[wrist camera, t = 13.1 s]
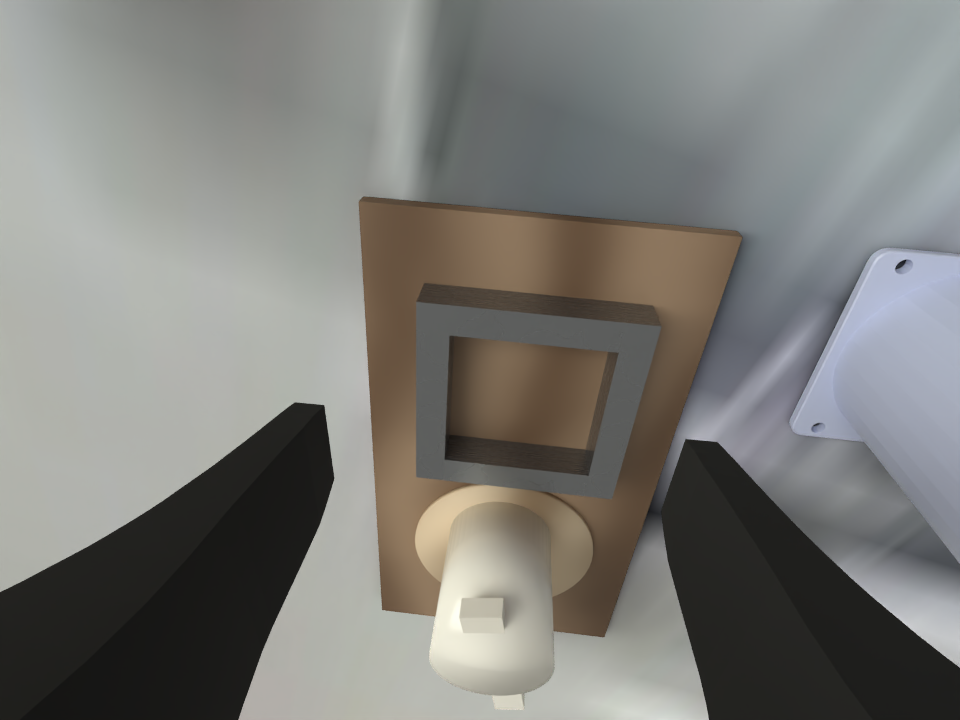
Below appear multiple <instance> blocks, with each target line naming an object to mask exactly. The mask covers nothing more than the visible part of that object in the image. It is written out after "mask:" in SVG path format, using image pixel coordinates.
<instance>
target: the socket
mask: <svg viewBox="0 0 960 720" xmlns="http://www.w3.org/2000/svg"><path fill="white" fill-rule="evenodd" d="M661 327H662V326H661V324H660V321H659V319H658V316H657V314H656V312H655V309H654V307H653V305H645V304H635V303H625V302H615V301H605V300H594V299H584V298H574V297H564V296H554V295H544V294H533V293H523V292H513V291H503V290H493V289H483V288H472V287H462V286H452V285H442V284H432V283H424V285H423V287H422V289H421V292H420V294H419V296H418V299H417V301H416V477H418V478H427V479H436V480H445V481H454V482H463V483H471V484H480V485H489V486H498V487H507V488H516V489H525V490H533V491H542V492H551V493H560V494H569V495H578V496H587V497H596V498H604V499H612V498H613V494H614V491H615V487H616V484H617V480H618V477H619V473H620V470H621V466H622V463H623V459H624V456H625V452H626V449H627V445H628V442H629V438H630V435H631V431H632V428H633V424H634V421H635V417H636V414H637V411H638V407H639V404H640V400H641V397H642V393H643V390H644V386H645V383H646V379H647V376H648V372H649V369H650V365H651V362H652V358H653V355H654V351H655V348H656V344H657V341H658V337H659V334H660V330H661ZM454 336H459V337H469V338H479V339H488V340H498V341H508V342H518V343H528V344H537V345H547V346H557V347H567V348H577V349H586V350H596V351H606V352H608V355H607V359H606V364H605V368H604V372H603V377H602V381H601V385H600V389H599V394H598V398H597V402H596V407H595V411H594V415H593V420H592V424H591V428H590V433H589V437H588V441H587V446H586V450H585V449H576V448H567V447H558V446H548V445H539V444H530V443H521V442H512V441H503V440H494V439H484V438H475V437H466V436H457V435H450V417H451V396H452V374H453V352H454Z"/></svg>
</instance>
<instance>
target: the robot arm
mask: <svg viewBox="0 0 960 720" xmlns="http://www.w3.org/2000/svg"><path fill="white" fill-rule="evenodd" d="M902 260H906V263H905V264H904V265H903V267H901V268H899V269H895V268H896V265H897V264H898V263H899V262H901V261H902ZM816 423H820V424H819V425H817V426H813V425H814V424H816ZM789 425H790V427H791V429H792V431H793V432H794V433H796V434H798V435H804V436H814V437H823V438H832V439H842V440H851V441H860V442H865V443H866V444H867V446H868V447H869V448H870V450H871V451H872V452H873V453H874V455H875V456H876V457H877V459H878V460H879V461H880V462H881V464H882V465H883V466H884V467H885V469H886V470H887V471H888V473H889V474H890V475H891V476H892V478H893V479H894V480H895V482H896V483H897V484H898V485H899V487H900V488H901V489H902V490H903V492H904V493H905V494H906V496H907V497H908V498H909V499H910V501H911V502H912V503H913V505H914V506H915V507H916V508H917V510H918V511H919V512H920V513H921V515H922V516H923V517H924V519H925V520H926V521H927V522H928V524H929V525H930V526H931V528H932V529H933V530H934V531H935V533H936V534H937V535H938V536H939V538H940V539H941V540H942V542H943V543H944V544H945V545H946V547H947V548H948V549H949V551H950V552H951V553H952V554H953V556H954V557H955V558H956V559H957V561H958V562H959V563H960V254H955V253H944V252H933V251H922V250H911V249H901V248H883V249H880V250H878V251H876V252H875V253H874V254H872V255H871V257H870V258H869V259H868V261H867V263H866V265H865V267H864V269H863V271H862V273H861V276H860V278H859V280H858V282H857V284H856V286H855V288H854V290H853V292H852V294H851V296H850V298H849V300H848V302H847V304H846V306H845V308H844V310H843V312H842V314H841V316H840V318H839V320H838V322H837V324H836V327H835V329H834V331H833V333H832V335H831V337H830V339H829V341H828V343H827V345H826V347H825V349H824V351H823V353H822V355H821V357H820V359H819V361H818V363H817V365H816V367H815V369H814V371H813V373H812V375H811V378H810V380H809V382H808V384H807V386H806V388H805V390H804V392H803V394H802V396H801V398H800V400H799V402H798V404H797V406H796V408H795V410H794V412H793V414H792V416H791V418H790V421H789ZM812 426H813V427H812ZM333 481H334V473H333V466H332V458H331V451H330V444H329V436H328V429H327V422H326V415H325V407H324V405H316V404H306V403H294V404H292V405H291V406H289V407H288V408H287V409H285V410H284V411H283V412H282V413H280V414H279V415H278V416H277V417H275V418H274V419H273V420H271V421H270V422H269V423H268V424H266V425H265V426H264V427H263V428H261V429H260V430H259V431H258V432H256V433H255V434H254V435H252V436H251V437H250V438H249V439H247V440H246V441H245V442H244V443H242V444H241V445H240V446H238V447H237V448H236V449H234V450H233V451H232V452H230V453H229V454H228V455H227V456H225V457H224V458H223V459H221V460H220V461H219V462H217V463H216V464H215V465H213V466H212V467H211V468H209V469H208V470H206V471H205V472H204V473H202V474H201V475H199V476H198V477H196V478H195V479H194V480H192V481H191V482H189V483H188V484H186V485H185V486H184V487H182V488H181V489H179V490H178V491H176V492H175V493H174V494H172V495H171V496H169V497H168V498H166V499H165V500H164V501H162V502H161V503H159V504H158V505H156V506H155V507H153V508H151V509H150V510H148V511H147V512H145V513H144V514H142V515H140V516H139V517H137V518H136V519H134V520H132V521H131V522H129V523H127V524H126V525H124V526H122V527H121V528H119V529H117V530H116V531H114V532H112V533H111V534H109V535H107V536H106V537H104V538H102V539H101V540H99V541H97V542H95V543H94V544H92V545H90V546H88V547H87V548H85V549H83V550H81V551H79V552H77V553H75V554H73V555H71V556H70V557H68V558H66V559H64V560H62V561H60V562H58V563H56V564H54V565H52V566H51V567H49V568H47V569H45V570H43V571H41V572H39V573H37V574H35V575H34V576H32V577H30V578H28V579H26V580H24V581H22V582H20V583H18V584H16V585H14V586H12V587H10V588H8V589H6V590H4V591H2V592H0V720H238V719H239V716H240V713H241V710H242V707H243V704H244V701H245V698H246V695H247V693H248V690H249V687H250V684H251V681H252V679H253V676H254V673H255V670H256V667H257V665H258V662H259V659H260V656H261V653H262V651H263V648H264V646H265V643H266V641H267V639H268V636H269V634H270V632H271V629H272V627H273V625H274V622H275V620H276V618H277V616H278V614H279V612H280V610H281V607H282V605H283V603H284V601H285V599H286V597H287V595H288V592H289V590H290V588H291V586H292V584H293V582H294V579H295V577H296V575H297V573H298V571H299V569H300V567H301V564H302V562H303V560H304V558H305V556H306V554H307V551H308V549H309V547H310V545H311V543H312V540H313V538H314V536H315V534H316V532H317V529H318V527H319V525H320V522H321V519H322V516H323V513H324V510H325V507H326V504H327V501H328V498H329V494H330V491H331V488H332V484H333ZM661 515H662V523H663V531H664V538H665V545H666V551H667V557H668V562H669V566H670V570H671V574H672V578H673V581H674V585H675V589H676V592H677V596H678V600H679V603H680V607H681V610H682V614H683V618H684V621H685V625H686V628H687V632H688V636H689V639H690V643H691V646H692V650H693V654H694V657H695V661H696V664H697V668H698V671H699V675H700V679H701V683H702V688H703V692H704V696H705V700H706V705H707V710H708V716H709V720H960V668H959V667H958V666H957V665H955V664H954V663H953V662H951V661H950V660H949V659H947V658H946V657H945V656H943V655H942V654H941V653H940V652H938V651H937V650H936V649H935V648H933V647H932V646H931V645H929V644H928V643H927V642H926V641H924V640H923V639H922V638H921V637H919V636H918V635H917V634H916V633H914V632H913V631H912V630H911V629H910V628H908V627H907V626H906V625H905V624H904V623H902V622H901V621H900V620H899V619H898V618H896V617H895V616H894V615H893V614H892V613H890V612H889V611H888V610H887V609H886V608H885V607H883V606H882V605H881V604H880V603H879V602H877V601H876V600H875V599H874V598H873V597H872V596H870V595H869V594H868V593H867V592H866V591H865V590H864V589H862V588H861V587H860V586H859V585H858V584H857V583H856V582H855V581H853V580H852V579H851V578H850V577H849V576H848V575H847V574H846V573H845V572H844V571H843V570H842V569H841V568H840V567H838V566H837V565H836V564H835V563H834V562H833V561H832V560H831V559H830V558H829V557H828V556H827V555H826V554H825V553H824V552H822V551H821V550H820V549H819V548H818V547H817V546H816V545H815V544H814V543H813V542H812V541H811V540H810V539H809V538H808V537H807V536H806V535H805V534H804V533H803V532H802V531H801V530H800V529H799V528H798V527H797V526H796V525H795V524H794V523H793V522H792V521H791V520H790V519H789V518H788V517H787V516H786V515H785V513H784V512H783V511H782V510H781V509H780V508H779V507H778V506H777V505H776V504H775V503H774V502H773V501H772V500H771V499H770V498H769V497H768V496H767V495H766V494H765V492H764V491H763V490H762V489H761V488H760V487H759V486H758V485H757V484H756V483H755V482H754V481H753V480H752V478H751V477H750V476H749V475H748V474H747V473H746V472H745V471H744V470H743V469H742V468H741V467H740V465H739V464H738V463H737V462H736V461H735V460H734V459H733V458H732V457H731V456H730V455H729V454H728V453H727V452H726V451H725V449H724V448H723V447H722V446H721V445H720V444H719V443H718V442H710V441H699V440H689V439H685V442H684V445H683V448H682V451H681V454H680V457H679V460H678V463H677V466H676V469H675V472H674V475H673V478H672V481H671V483H670V486H669V489H668V492H667V495H666V498H665V501H664V504H663V507H662V510H661Z"/></svg>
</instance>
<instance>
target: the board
mask: <svg viewBox="0 0 960 720" xmlns="http://www.w3.org/2000/svg"><path fill="white" fill-rule="evenodd" d="M359 214H360V232H361V249H362V266H363V284H364V301H365V319H366V336H367V353H368V371H369V388H370V406H371V423H372V440H373V458H374V475H375V493H376V510H377V527H378V545H379V562H380V580H381V597H382V610H386V611H395V612H403V613H411V614H419V615H427V616H435V617H436V611H437V605H438V599H439V593H440V587H441V582H439V581H438V580H437V579H436V578H434V577H433V576H432V575H431V574H430V573H429V572H428V571H427V569H426V568H425V567H424V565H423V564H422V562H421V560H420V558H419V556H418V554H417V550H416V546H415V534H416V529H417V525H418V522H419V519H420V518H421V516H422V514H423V512H424V511H425V510H426V509H427V507H428V506H429V505H430V504H431V503H433V502H434V501H435V500H436V499H438V498H439V497H441V496H442V495H444V494H446V493H448V492H450V491H452V490H454V489H457V488H460V487H463V486H467V485H471V483H463V482H454V481H445V480H436V479H427V478H418V477H416V301H417V299H418V296H419V294H420V292H421V289H422V287H423V285H424V283H432V284H442V285H452V286H462V287H472V288H483V289H493V290H503V291H513V292H523V293H533V294H544V295H554V296H564V297H574V298H584V299H594V300H605V301H615V302H625V303H635V304H645V305H653V307H654V309H655V312H656V314H657V316H658V319H659V321H660V324H661V326H662V327H661V330H660V334H659V337H658V341H657V344H656V348H655V351H654V355H653V358H652V362H651V365H650V369H649V372H648V376H647V379H646V383H645V386H644V390H643V393H642V397H641V400H640V404H639V407H638V411H637V414H636V417H635V421H634V424H633V428H632V431H631V435H630V438H629V442H628V445H627V449H626V452H625V456H624V459H623V463H622V466H621V470H620V473H619V477H618V480H617V484H616V487H615V491H614V494H613V498H612V499H604V498H596V497H587V496H578V495H569V494H560V493H551V492H549V493H551V494H553V495H555V496H557V497H559V498H560V499H562V500H563V501H565V502H566V503H568V504H569V505H570V506H571V507H573V508H574V509H575V510H576V511H577V512H578V513H579V514H580V515H581V516H582V518H583V519H584V521H585V522H586V524H587V526H588V528H589V530H590V532H591V537H592V542H593V557H592V562H591V564H590V567H589V569H588V570H587V572H586V574H585V575H584V576H583V577H582V578H581V580H580V581H579V582H577V583H576V584H575V585H574V586H573V587H571V588H570V589H568V590H566V591H565V592H563V593H561V594H559V595H557V596H554V597H552V602H553V631H557V632H565V633H574V634H582V635H590V636H598V637H605V634H606V631H607V628H608V625H609V622H610V619H611V616H612V613H613V610H614V608H615V605H616V602H617V599H618V596H619V593H620V590H621V587H622V584H623V582H624V579H625V576H626V573H627V570H628V567H629V564H630V561H631V558H632V556H633V553H634V550H635V547H636V544H637V541H638V538H639V535H640V532H641V529H642V527H643V524H644V521H645V518H646V515H647V512H648V509H649V506H650V503H651V501H652V498H653V495H654V492H655V489H656V486H657V483H658V480H659V477H660V475H661V472H662V469H663V466H664V463H665V460H666V457H667V454H668V451H669V448H670V446H671V443H672V440H673V437H674V434H675V431H676V428H677V425H678V422H679V420H680V417H681V414H682V411H683V408H684V405H685V402H686V399H687V396H688V394H689V391H690V388H691V385H692V382H693V379H694V376H695V373H696V370H697V367H698V365H699V362H700V359H701V356H702V353H703V350H704V347H705V344H706V341H707V339H708V336H709V333H710V330H711V327H712V324H713V321H714V318H715V315H716V313H717V310H718V307H719V304H720V301H721V298H722V295H723V292H724V289H725V286H726V284H727V281H728V278H729V275H730V272H731V269H732V266H733V263H734V260H735V258H736V255H737V252H738V249H739V246H740V243H741V240H742V236H741V235H740V234H739V233H738V232H737V231H730V230H720V229H709V228H698V227H687V226H676V225H666V224H655V223H644V222H633V221H622V220H612V219H601V218H590V217H579V216H568V215H558V214H547V213H536V212H525V211H514V210H504V209H493V208H482V207H471V206H460V205H449V204H439V203H428V202H417V201H406V200H395V199H385V198H374V197H363V198H362V199H361V200H360V201H359ZM607 355H608V352H606V351H596V350H586V349H577V348H567V347H557V346H547V345H537V344H528V343H518V342H508V341H498V340H488V339H479V338H469V337H459V336H454V352H453V374H452V396H451V417H450V435H457V436H466V437H475V438H484V439H494V440H503V441H512V442H521V443H530V444H539V445H548V446H558V447H567V448H576V449H585V450H586V446H587V441H588V437H589V433H590V428H591V424H592V420H593V415H594V411H595V407H596V402H597V398H598V394H599V389H600V385H601V381H602V377H603V372H604V368H605V364H606V359H607Z"/></svg>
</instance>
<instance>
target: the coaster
mask: <svg viewBox="0 0 960 720" xmlns="http://www.w3.org/2000/svg"><path fill="white" fill-rule="evenodd" d="M485 502H508V503H513V504H517V505H520V506H523V507H525V508H527V509H529V510H531V511H533V512H534V513H536V514H537V515H538V516H539V517H541V518H542V519H543V521H544V522H545V523H546V525H547V526H548V528H549V531H550V535H551V567H552V597H554V596H557V595H559V594H561V593H563V592H565V591H566V590H568V589H570V588H571V587H573V586H574V585H575V584H576V583H577V582H579V581H580V580H581V578H582V577H583V576H584V575H585V574H586V572H587V570H588V569H589V567H590V564H591V562H592V557H593V542H592V537H591V532H590V530H589V528H588V526H587V524H586V522H585V521H584V519H583V518H582V516H581V515H580V514H579V513H578V512H577V511H576V510H575V509H574V508H573V507H571V506H570V505H569V504H568V503H566V502H565V501H563V500H562V499H560V498H559V497H557V496H555V495H553V494H551V493H549V492H542V491H533V490H525V489H516V488H507V487H498V486H489V485H480V484H471V485H467V486H463V487H460V488H457V489H454V490H452V491H450V492H448V493H446V494H444V495H442V496H441V497H439V498H438V499H436V500H435V501H434V502H433V503H431V504H430V505H429V506H428V507H427V509H426V510H425V511H424V512H423V514H422V516H421V518H420V519H419V522H418V525H417V529H416V534H415V546H416V550H417V554H418V556H419V558H420V560H421V562H422V564H423V565H424V567H425V568H426V569H427V571H428V572H429V573H430V574H431V575H432V576H433V577H434V578H436V579H437V580H438V581H439V582H441V581H442V575H443V569H444V563H445V557H446V551H447V545H448V539H449V534H450V528H451V524H452V522H453V520H454V519H455V517H456V516H457V515H458V514H459V513H460V512H462V511H463V510H465V509H467V508H468V507H471V506H473V505H476V504H479V503H485Z"/></svg>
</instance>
